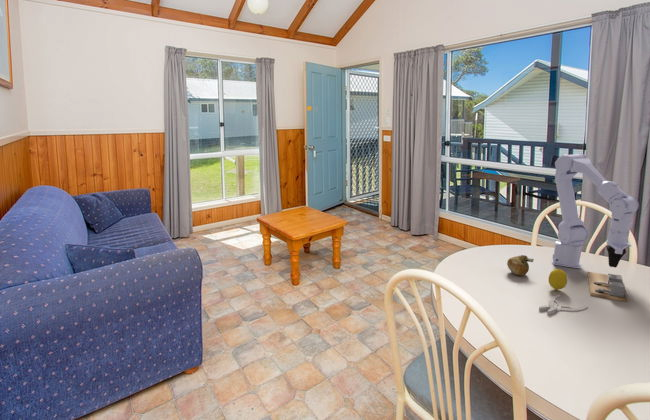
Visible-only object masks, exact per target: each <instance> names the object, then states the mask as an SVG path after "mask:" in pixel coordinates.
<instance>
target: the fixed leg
mask: <svg viewBox="0 0 650 420" xmlns="http://www.w3.org/2000/svg"><path fill="white" fill-rule="evenodd" d="M625 290H626V286H625V283H624V282H623V283H620V282H614V281H610V283H609V288H608V290H605V289H598V291H602V292H608V293H609V295H613V296H618V297H624V292H625Z"/></svg>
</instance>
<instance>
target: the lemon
mask: <svg viewBox="0 0 650 420" xmlns="http://www.w3.org/2000/svg"><path fill="white" fill-rule="evenodd" d="M567 283H568V276H567V273H566V272H565V271H564V270H563V269H561V268H556V269H553V270H552V271H550V273H549V275H548V284H549V286H550V287H551V288H552V289H554V291H558V290H562V289H563V288H565V287H566V286H567Z"/></svg>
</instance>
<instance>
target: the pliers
mask: <svg viewBox="0 0 650 420" xmlns="http://www.w3.org/2000/svg"><path fill="white" fill-rule="evenodd" d="M560 297H561V295H560V294H558V295H553V296H551V297H550V298H549V300H548V305H547V304H544V305H541V306H539V307H538V311H540V312H543V311H547V314H546V315H549V316H551V315H552V314H555V313H556V312H569V313H570V312H580V311H585V310H587V309H588V308H589V306H587V305H586V306H581V307H571V306H564V305H563V306H562V305H561V307H558V306H559V301H557V299H558V298H560ZM555 303H556V305H555Z"/></svg>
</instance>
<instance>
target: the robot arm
mask: <svg viewBox="0 0 650 420" xmlns="http://www.w3.org/2000/svg"><path fill="white" fill-rule="evenodd" d="M554 166H555V174H554V179H555V184H556V185H555V186H556V190H557V196H558V197H557V198H558V201H559V209H560V213H561V218H562V220H561V222H559V224H558V230H557V238H558V240H557V241H555V244H554V250H553V251H554V252H553V254H552V258H551V259H552V264H553V266H559V267H566V268H567V267H568V268H571V269H579V270H580V269H581V268H582V267H581V265H582V264H581V257H582V250H583V244H584V243H585V241H586V240H587V239H588V238H589V231H588V229H587V227H586V226H585V222H584V221H583V220H581V219H580V218H579V213H578V207H577V201H576V197H575V191H574V186H573V179H574V177H575V176H576V175H577V174H578V173H579V174H582V175H583V176H585V177H586V178H587V179H588V180H589V181H590V182H591V183H592V184H594V186H596V187H597V189H596V191H597V193H598V194H599V195H600V196H601V197H602V198H603V199H604V200H605V201H606V202H607V203H608V204H609V210H610V212H611V215H610V216H611V221H610V226H609V232H608V236H607V240H606V244H607V245H605V247H606V250H607V255H608V260H607V261H608V266H609V267H610V268H617V267H618V266H619V263H620V261H621V259H622V258H623V256H624V255H626V253H627V249H626V248H627V247H632V244H631V243H630V242H628V240H629V236H630V231H631V225H632V221H633V216H634V213H636V212H637V211H638V210H639V207H640V204H639V201H638V199H637V198H636V197H634V196H630V195H628V193H626V192H624V191H623V190H622V189H621V188H620V187H619V186H618V183H617V182H616V181H611V180H607V179H606V178H604V176H603V175H602V174H601V173H600V172H599V171H598V170H597V168H596V167H595V166H594V165H593V164H592V161H591V158H589V157H587V155H586V154H585V153H584V154H583V153H576V154H575V153H574V154H561V155H560V156H559V157H557V159H556V161H555V162H554Z"/></svg>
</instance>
